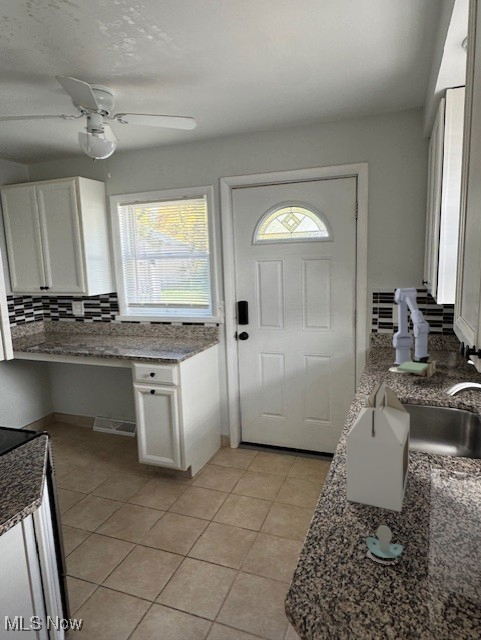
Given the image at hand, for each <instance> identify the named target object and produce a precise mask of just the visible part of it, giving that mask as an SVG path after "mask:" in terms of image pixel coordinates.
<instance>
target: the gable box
mask: <svg viewBox="0 0 481 640" xmlns="http://www.w3.org/2000/svg"><path fill="white" fill-rule="evenodd" d="M369 395H370V396H369V398H368V403H367V404H366V405H365V404H364V407H362V408H361V410H360V411H359V413H358V415H357V417H356V419H355V420H354V422H353V424H352V426H351V427H350V429H349V431H348V433H347V435H346V437H345V438H346V439H345V442H346V443H345V445H346V447H345V448H346V450H345V451H346V452H345V454H346V455H345V457H346V458H345V459H346V461H345V462H346V464H345V465H346V468H345V469H346V500H347V501H349V502H354V503H357V504H358V503H360V504H363V505H367V506H368V505H369V506H371V507H377V508H381V509H386V510H390V511H394V512H402V510H403V503H404V497H405V492H406V487H407V483H408V477H409V472H410V470H409V469H410V428H411V427H410V426H411V425H410V421H411V419H410V418H411V417H410V415H411V414H410V413H409V412H408V410H407V409H406V408H405V406H404V405H403V404H402V402H401V401H400V399H399V398H398V397H397V395H396V394H395V391H393V390H392V389H391V388H389V387H387V386H386V379H385V378H383V379H382V380H381V383H379V381H377V383H375V386H374V387H373V389H372V391H371V393H370V394H369ZM386 398H387V406H386Z"/></svg>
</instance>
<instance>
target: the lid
mask: <svg viewBox="0 0 481 640" xmlns="http://www.w3.org/2000/svg"><path fill="white" fill-rule="evenodd" d="M396 367H397V371H405V372H412V373H420V374H421V373H422V372H423V371H424V370H425V369H427V368H428V367H429V364H424V363H415V362H407V361H406V362H404V363H403V364H401V365H398V366H396Z"/></svg>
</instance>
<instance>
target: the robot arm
mask: <svg viewBox="0 0 481 640" xmlns="http://www.w3.org/2000/svg"><path fill="white" fill-rule="evenodd" d="M394 294H395V299H394V301H395V303H396V304H397V321H398V323H397V324H398V328H397V329H398V331H397V332H395V333H394V334H393V338H392V346H393V347H394V348H395V361H394V362H393V365H398V366H400V365H401V364H403V363H404V362H406V361H407V362H410V361H411V360H412V361H413V362H415V363H424V364H427V361H429V359H430V354H428V334H429V333H430V331H431V326H430V323H429V322H428V321H427V320H425V317H424V314H423V312H422V310H419V307H418V303H417V297H418V295H417V294H418V291H417V289H416V288H415V287H406V288H405V287H404V288H400V287H399V288H397V289H396V290H395V292H394ZM408 308H409V310H410V312H411V313H410V318H411V321H412V323H413V333H414V334H413V335H414V337H415V339H414V340H415V341H414V340H413V335H412V333H410V332H408V331H409V330H408V329H409V328H408V324H409V323H408ZM414 343H415V345H414ZM413 346H414V358H415V359H414V358H412V357H411V356H412V355H411V354H412V351H411V348H412V347H413ZM411 358H412V359H411Z"/></svg>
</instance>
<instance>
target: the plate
mask: <svg viewBox="0 0 481 640" xmlns="http://www.w3.org/2000/svg"><path fill="white" fill-rule="evenodd" d="M397 367H398V366H395V367H389V369H388V371H389V372H390V373H396V374H407V372H405V371H397Z"/></svg>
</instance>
